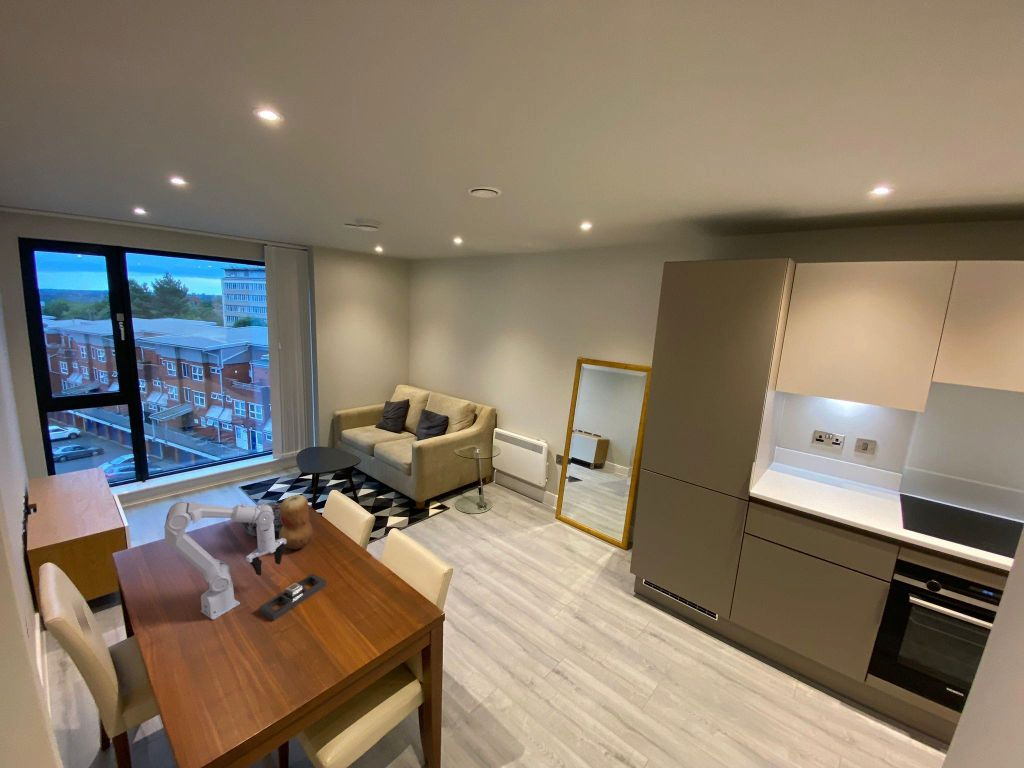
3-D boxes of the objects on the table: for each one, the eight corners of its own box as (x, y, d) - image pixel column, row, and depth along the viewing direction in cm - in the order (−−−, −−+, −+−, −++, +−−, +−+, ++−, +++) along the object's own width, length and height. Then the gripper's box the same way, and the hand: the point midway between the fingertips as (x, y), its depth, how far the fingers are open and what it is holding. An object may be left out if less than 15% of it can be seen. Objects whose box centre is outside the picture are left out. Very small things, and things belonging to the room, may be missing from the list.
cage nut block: (293, 603, 156) (292, 591, 155) (286, 599, 157) (285, 588, 156) (302, 597, 159) (302, 585, 158) (295, 593, 161) (295, 582, 160)
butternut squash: (273, 551, 186) (270, 500, 181) (296, 536, 198) (294, 488, 194) (297, 558, 182) (295, 506, 177) (320, 542, 195) (318, 493, 190)
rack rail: (273, 621, 147) (273, 614, 146) (259, 612, 150) (259, 606, 150) (326, 585, 166) (325, 580, 166) (312, 578, 170) (312, 573, 169)
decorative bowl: (276, 552, 188) (276, 533, 186) (226, 538, 193) (226, 519, 191) (314, 524, 213) (314, 507, 211) (268, 512, 218) (269, 495, 216)
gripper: (253, 549, 148) (256, 583, 150) (290, 531, 161) (292, 562, 163) (241, 544, 151) (244, 576, 154) (279, 526, 164) (281, 556, 166)
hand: (268, 568), depth 159 cm, fingers open, 7 cm apart
